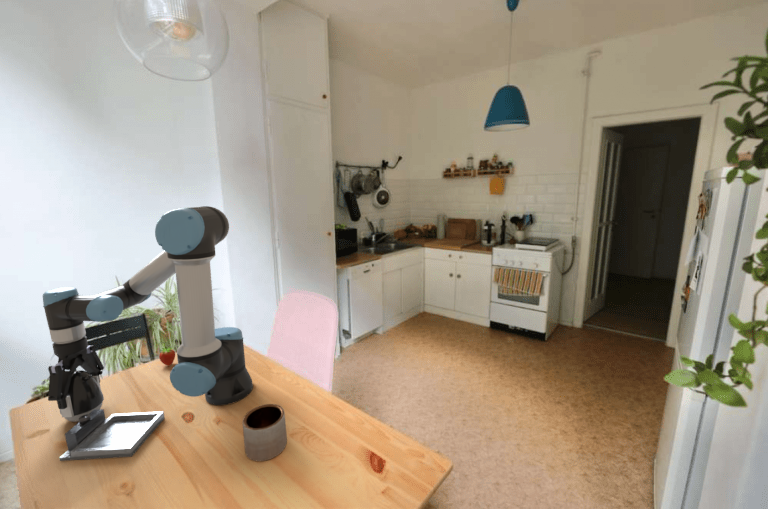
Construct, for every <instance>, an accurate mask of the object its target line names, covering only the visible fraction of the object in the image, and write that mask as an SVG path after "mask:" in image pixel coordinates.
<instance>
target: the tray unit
mask: <svg viewBox="0 0 768 509" xmlns="http://www.w3.org/2000/svg"><path fill="white" fill-rule="evenodd" d="M164 420H165V413H164V411H163V410H162V411H160V410H159V411H146V412H144V411H143V412H127V413H126V412H123V413H112V414H111V415H109V416H108V417H107V418H106V415H105V410H104V409H102V408H100V409H97V410H93V411H92V412H91V413H90V414H86V415H83V416H81V417H80V418H79V421H78V422H77V423H76V424H75V425H73V427H71V428H70V429H69V430H67V431H66V432H65V433H64V437H65V442H66V446H67V450H66V451H65V452H64V453H63V454H62V455H60V456H59V461H60V462H65V461H79V460H80V461H81V460H98V459H112V458H113V459H116V458H130V457H133V456H134V455H135V453H137V451H138V450H139V449H140V448H141V447H142V445H144V443H145V442H146V441H147V440H148V439H149V438H150V436H151V435H152V434H153V433H154V431H156V429H158V428H159V426H160V425H161V423H163V421H164Z"/></svg>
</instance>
